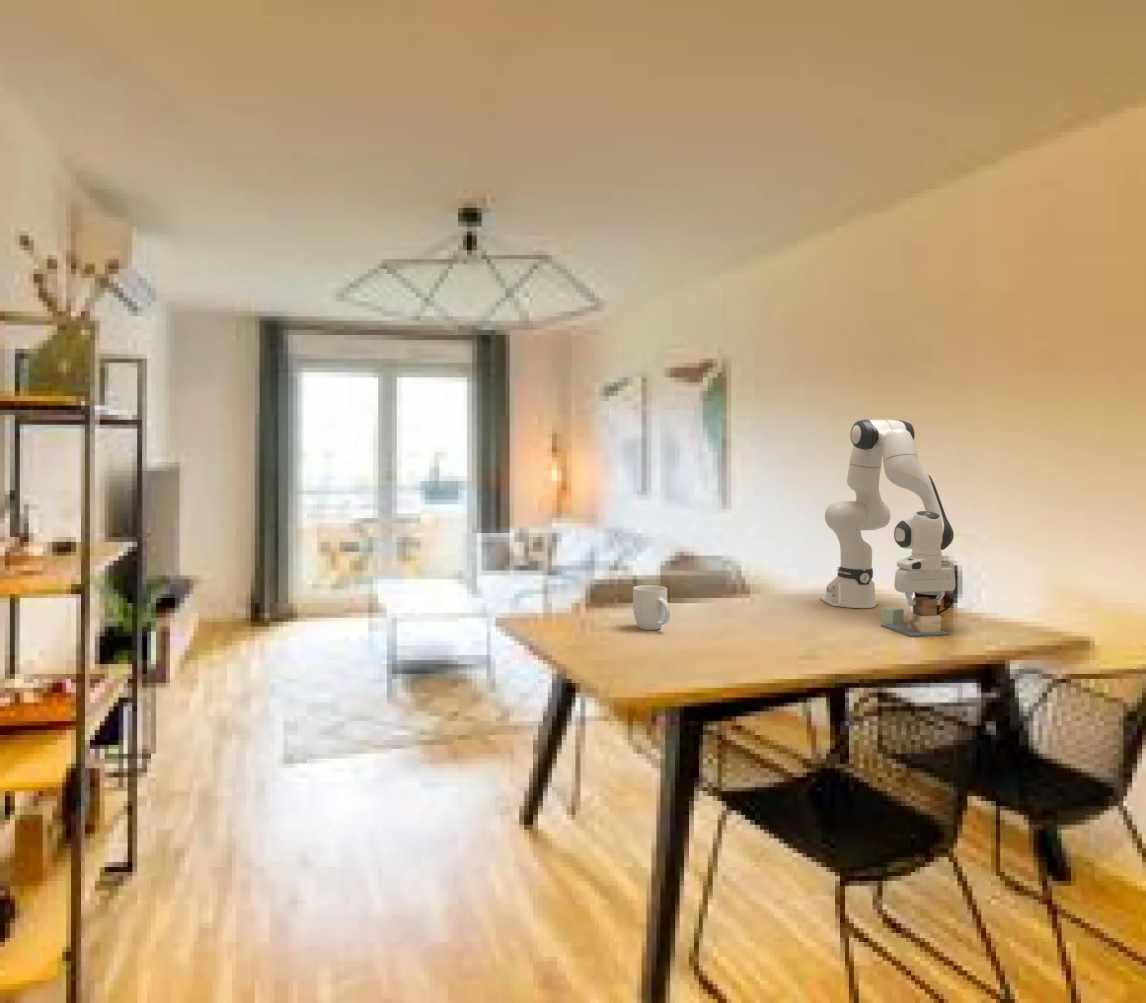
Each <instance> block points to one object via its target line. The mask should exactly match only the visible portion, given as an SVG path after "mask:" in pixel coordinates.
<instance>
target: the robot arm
mask: <svg viewBox="0 0 1146 1003" xmlns="http://www.w3.org/2000/svg"><path fill="white" fill-rule="evenodd" d="M850 442H851V443H852V445H853V447H852V450H851V454H850V458H849V465H848V471H847V478H846V482H847V485H848V487H849V488H850V489H851V490H852V491H854V492H855V495H856V496H855V497H856V500H850V501H849V500H848V501H846V500H844V501H837V502H834V503H830V504H829V505H828V506H827V508H826V509H825V512H824V520H825V523H826V525H827V526H828V528H829V529H831V530H832V531H833V533H834V534H835V535H836V537H837V540H838V543H839V547H840V566H839V567H838V569H836V571H837V574H836V575H837V576H836V577H834V579H833V580H832V581H830V582H829V583H828V584H827V586H826V589H825V590H826V592H825V593H826V594H825V595H821V596H819V600H821V601H823V603H824V602H825V603H827V604H828V605H830V606H832V607H842V608H850V609H871V608H875V607H876V606H877V605H878V604H879V603H878V601H877V600H876V586H875V582H874V581H873V578H874V568H873V548H872V545H870V544H869V543H868V542H867V541H865V540H864V539H863V536H862V532H861V531H876V530H878V529H882V528H885V527H887V526H888V524H889V523H890V520H891V510H890V509H889V506H888V505H887V504H886V503H885V502H884V501H883V499H882V497H881V493H880V478H881V470H882V469H881V468H882V463H883V469H884V473H885V476H886V478H887V479H888V480H889V481H890V483H891V484H893V485H895V486H897V487H900V488H902V489H904V490H905V489H906V490H908V491H910V492H912V493H914V494H915V495H917V496H918V497H919V498H920V499H921V501H922V504H923V506H924V507H923V508H924V510H921V511H917V512H915V513H914V514H913V516H912V517H910V518H908V519H904V520H901V521H899V522H898V523H897V524H896V526H895V527H894V530H893V531H894V532H893V533H894V534H893V536H894V537H893V538H894V541H895V543H896V544H897V545H898V546H899V548H903V549H907V550H908V549H909V550H910V549H911V555H909V556H907V557H905V558H903V559H900V560H897V562H896V567H897V569H896V571H895V574H894V589H895V591H896V592H898V593H903V594H904V595H905V598H906V600H907V606H908V607H913V606H915V601H914V600H913V597H912V596H914V592H935V591H936V592H937V594H938V595H937V597H936V599H935V600H937V605H940V606H941V605H942V601H943V600H942V598H943V597H944V596H945V594H946V592H953V591H954V590H955V589H956V574H955V565H954V564H953V563H952V562H951V561H945V562H944V561H942V558H943V557H942V556H943V555H942V553H943V552H942V551H943V550H945V549H947V548H949V546H951V544H952V542H953V540H954V536H955V535H954V534H955V533H954V529H953V527H952V525H951V524H950V521H949V519H948V518H947V515H946V511H945V510H944V507H943V504H942V501H941V499H940V496H939V493H938V490H937V487H936V484H935V482H934V480H933V478H932V476H931V475H929V474H928V473H927V472H926V471H925V470H924V468H923V467H922V465H921V462H920V460H919V456H918V452H917V451H918V450H917V447H916V443H915V430H914V426H913V425H912V424H911V423H910V422H907V421H905V420H900V419H899V420H895V419H888V418H886V419H885V418H882V419H861V420H857V421H855V422H854V424H853V425H852V427H851V428H850ZM941 600H942V601H941Z"/></svg>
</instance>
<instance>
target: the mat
mask: <svg viewBox="0 0 1146 1003" xmlns="http://www.w3.org/2000/svg"><path fill="white" fill-rule="evenodd" d="M880 627H882V628H884V629H888V630H891V631H893V632H896V633H899V634H901V635H905V636H907V637H910V638H919V637H921V638H922V637H939V636H941V637H943V636H950V635H951V632H948V631H944V630H942V629H941V632H924V633H921V632H918V631H915V630H912V629H909V628H908V622H905V623H904V622H903V623H898V624H887V623H880Z"/></svg>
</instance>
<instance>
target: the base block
mask: <svg viewBox="0 0 1146 1003" xmlns="http://www.w3.org/2000/svg"><path fill="white" fill-rule="evenodd" d="M907 623H908V628H909V629H912V630H915V631H918V632H921V633H924V632H941V630H942V629H941V628H942V616H941V615H940V614H939V615H936V616H920V615H917V614H914V613H913V611H912V612H907Z"/></svg>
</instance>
